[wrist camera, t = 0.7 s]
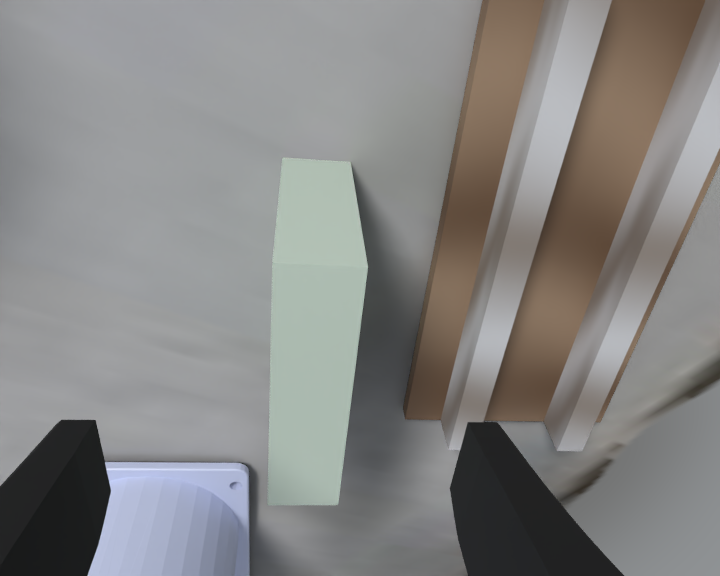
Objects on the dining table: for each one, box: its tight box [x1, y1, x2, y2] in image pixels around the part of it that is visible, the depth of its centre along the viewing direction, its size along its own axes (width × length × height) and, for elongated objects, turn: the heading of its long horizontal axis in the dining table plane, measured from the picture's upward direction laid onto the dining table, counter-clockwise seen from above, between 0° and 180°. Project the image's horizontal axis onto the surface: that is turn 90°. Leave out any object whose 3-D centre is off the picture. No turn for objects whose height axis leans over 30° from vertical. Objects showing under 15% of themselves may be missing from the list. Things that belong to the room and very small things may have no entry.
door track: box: [403, 0, 720, 451], centre depth 18 cm, size 16×8×2 cm, turn 174°
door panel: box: [267, 158, 368, 505], centre depth 17 cm, size 8×2×6 cm, turn 174°
